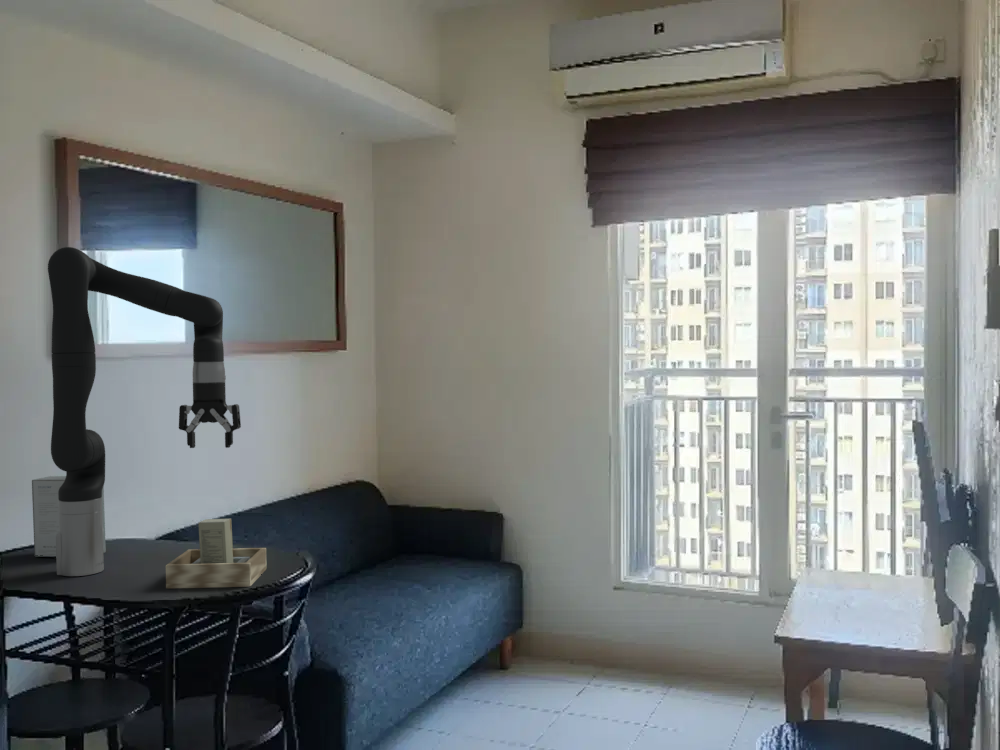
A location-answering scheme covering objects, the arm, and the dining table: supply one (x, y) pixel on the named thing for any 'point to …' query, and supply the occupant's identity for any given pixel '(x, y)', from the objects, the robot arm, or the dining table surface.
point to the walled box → (216, 570)
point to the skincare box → (215, 541)
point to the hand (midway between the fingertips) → (210, 447)
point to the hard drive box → (50, 514)
